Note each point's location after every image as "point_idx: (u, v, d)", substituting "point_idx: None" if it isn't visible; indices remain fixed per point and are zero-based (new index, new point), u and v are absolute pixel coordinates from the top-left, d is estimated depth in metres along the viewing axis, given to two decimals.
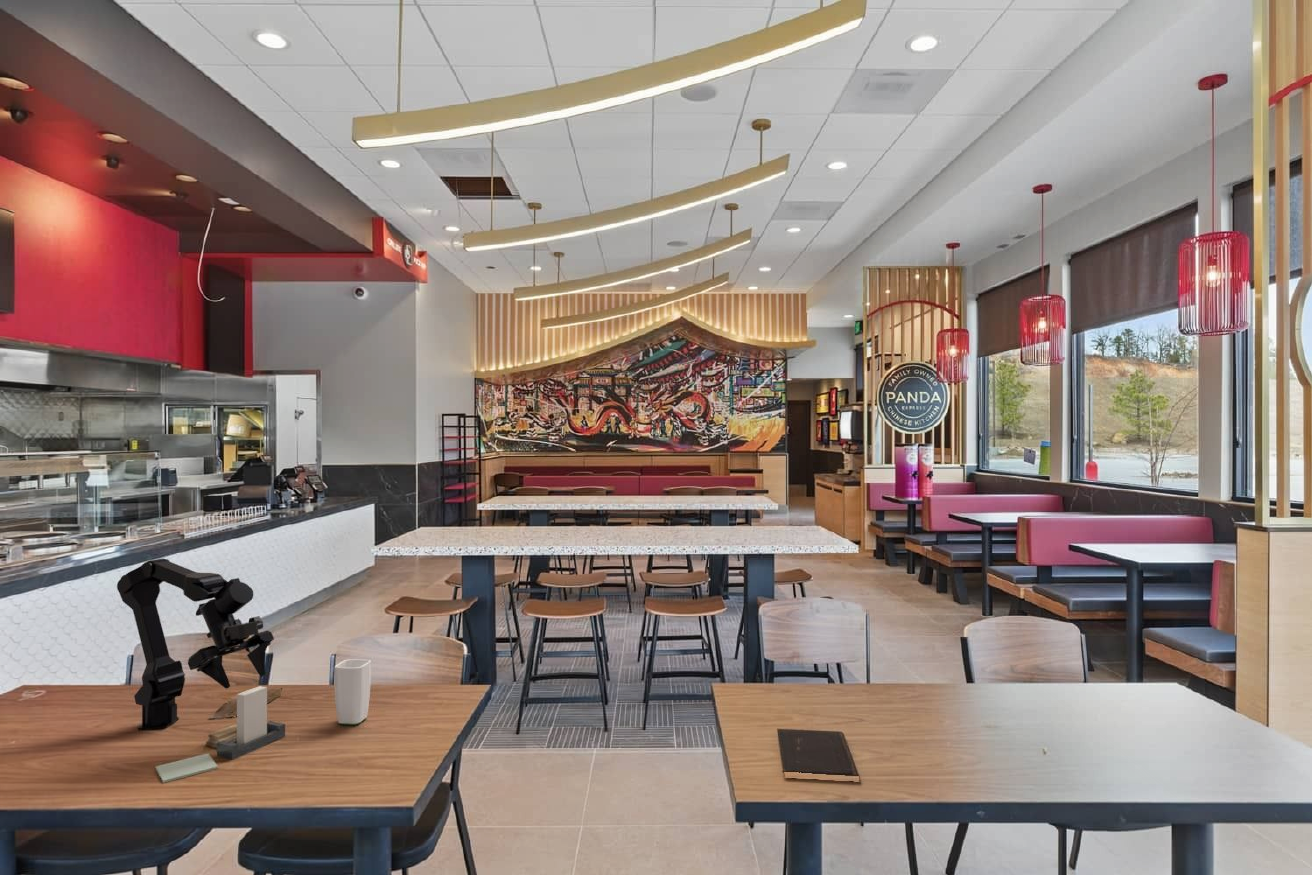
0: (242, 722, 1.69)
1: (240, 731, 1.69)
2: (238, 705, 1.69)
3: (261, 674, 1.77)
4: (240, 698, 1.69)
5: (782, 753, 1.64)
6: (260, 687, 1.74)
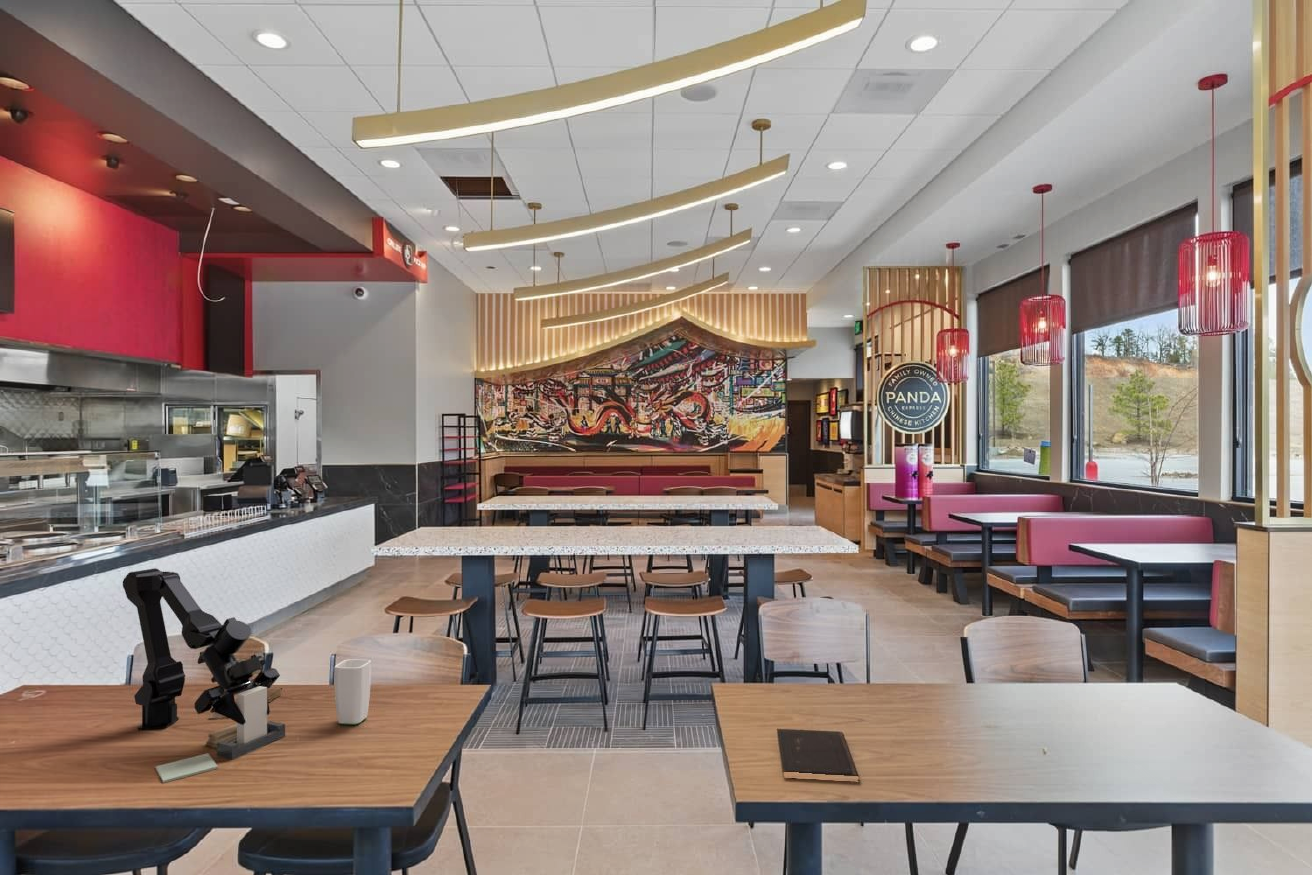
0: None
1: (240, 731, 1.69)
2: (238, 705, 1.69)
3: None
4: (240, 698, 1.69)
5: (782, 753, 1.64)
6: (260, 687, 1.74)
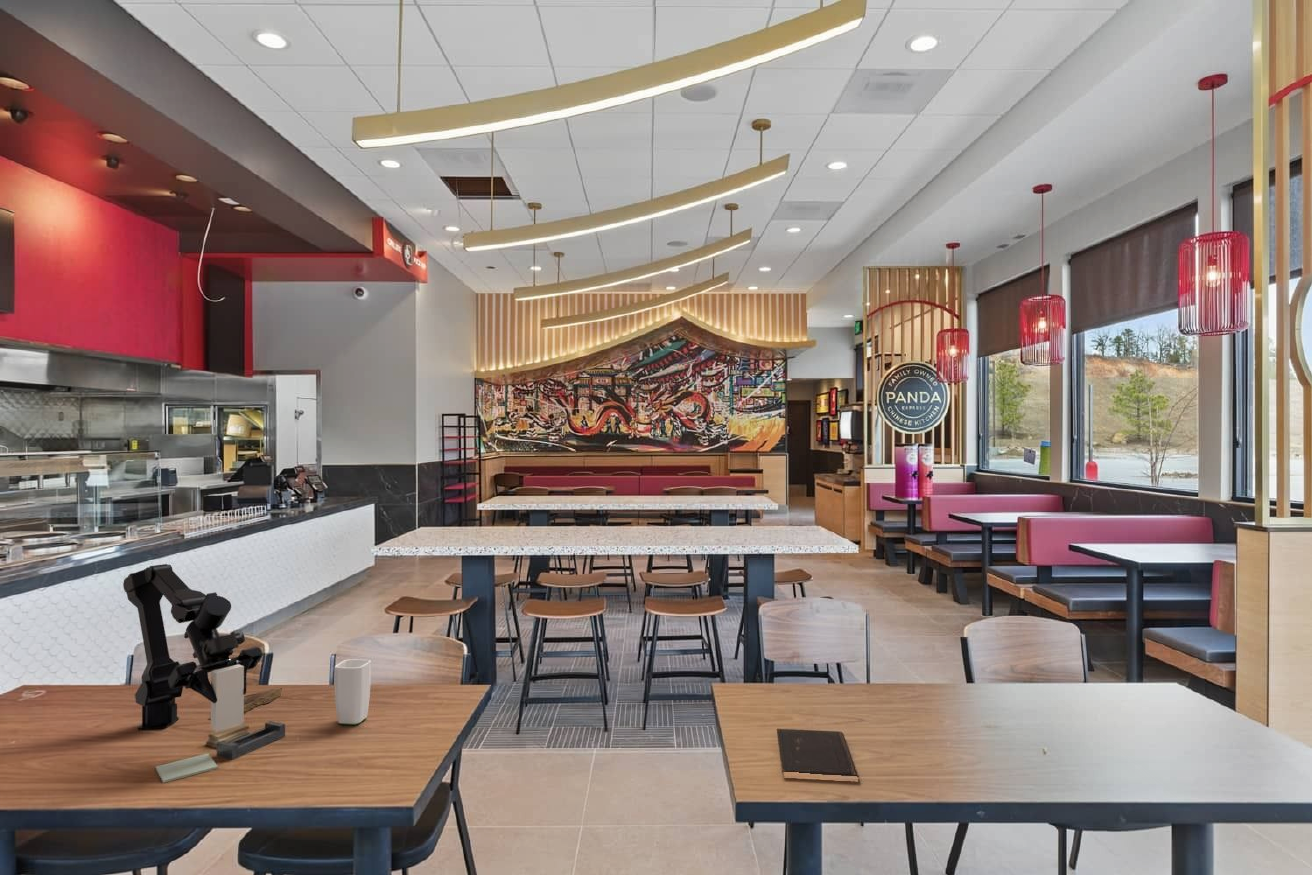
0: None
1: (213, 709, 1.64)
2: (212, 682, 1.64)
3: (243, 692, 1.69)
4: (213, 676, 1.64)
5: (781, 753, 1.64)
6: (237, 665, 1.69)
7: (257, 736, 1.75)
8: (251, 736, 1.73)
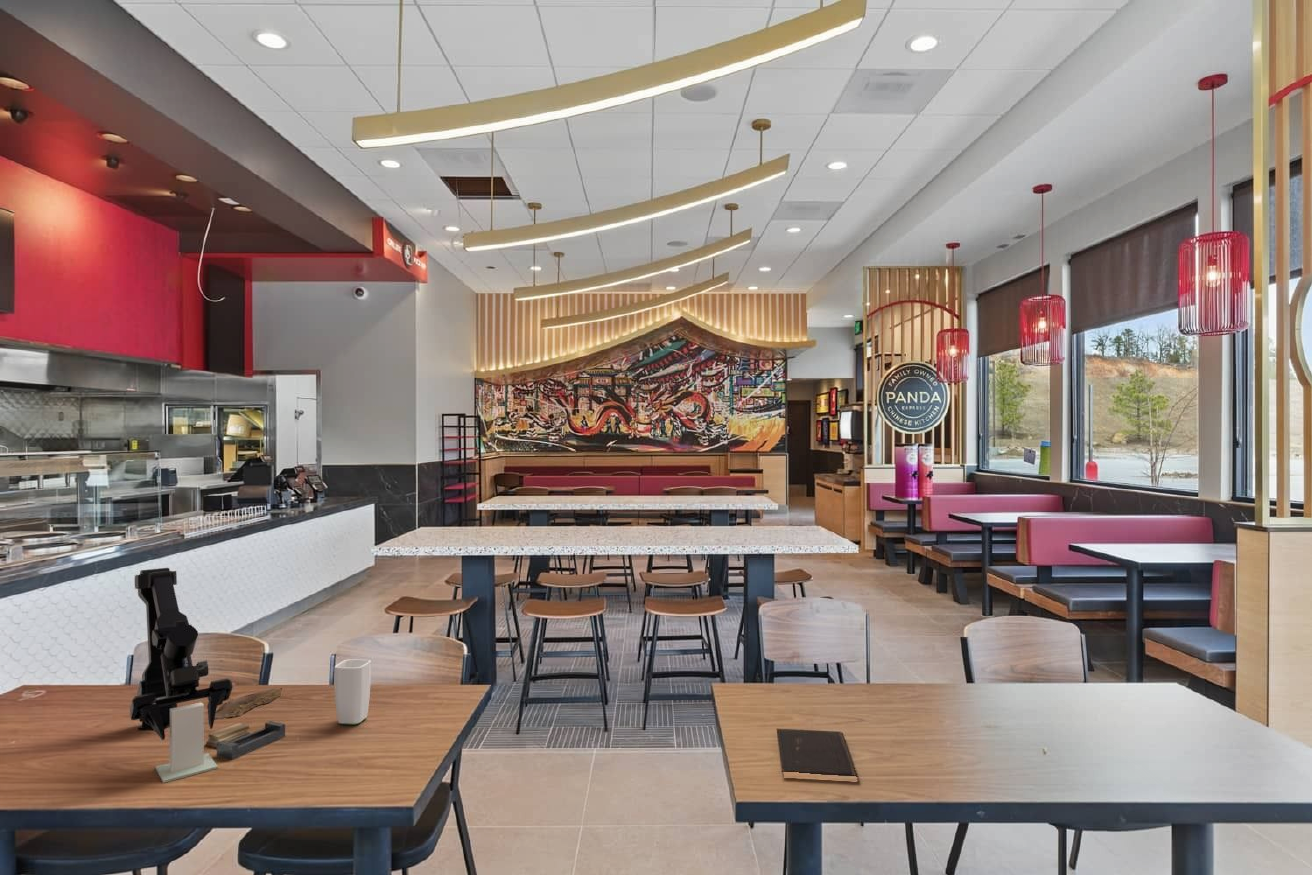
0: (171, 740, 1.57)
1: (170, 749, 1.58)
2: (170, 721, 1.58)
3: (210, 726, 1.62)
4: (170, 714, 1.58)
5: (781, 753, 1.64)
6: (199, 704, 1.62)
7: (257, 736, 1.75)
8: (251, 736, 1.73)
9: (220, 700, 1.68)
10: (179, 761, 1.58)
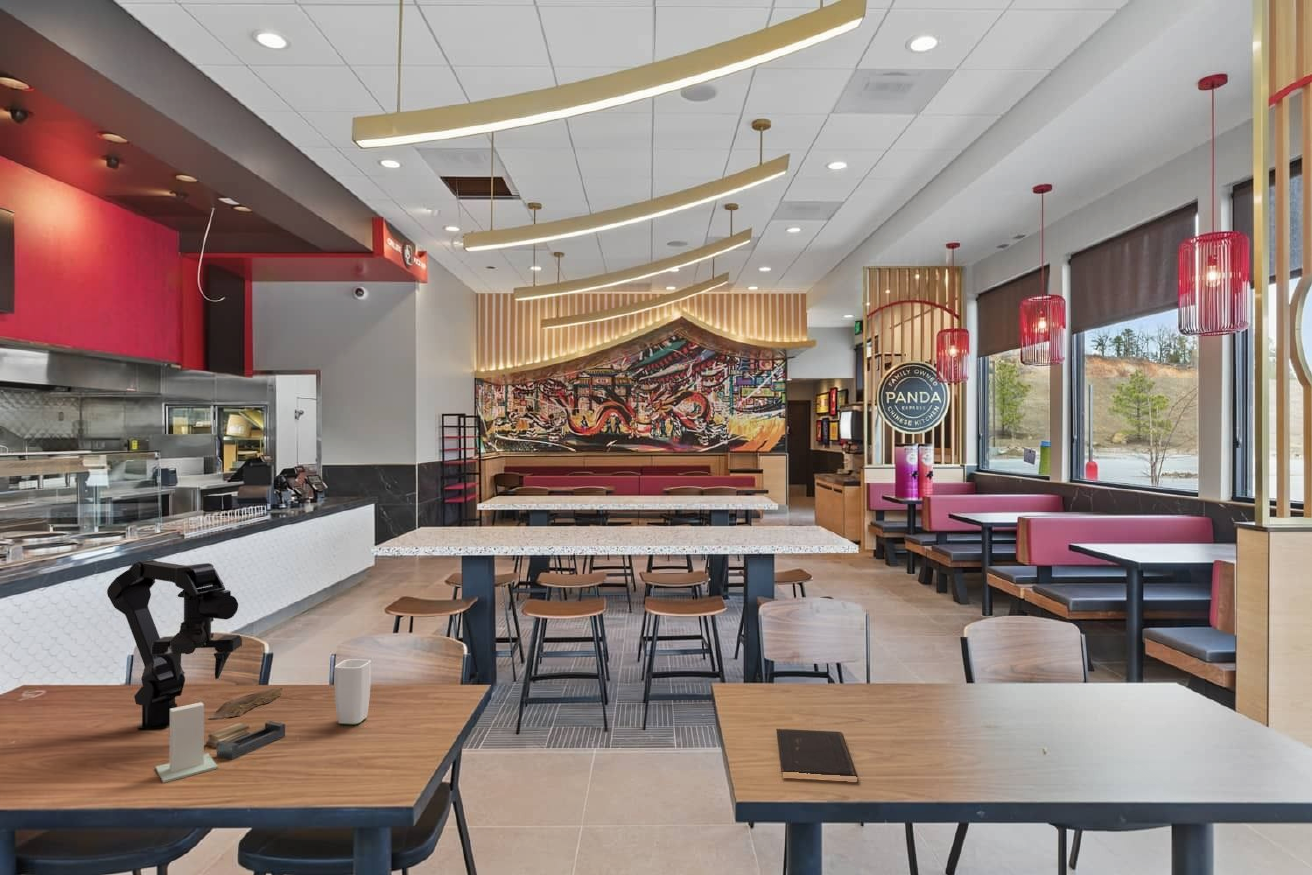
0: (171, 740, 1.57)
1: (170, 749, 1.58)
2: (170, 721, 1.58)
3: None
4: (170, 714, 1.58)
5: (781, 753, 1.64)
6: (199, 704, 1.62)
7: (257, 736, 1.75)
8: (251, 736, 1.73)
9: None
10: (179, 761, 1.58)
